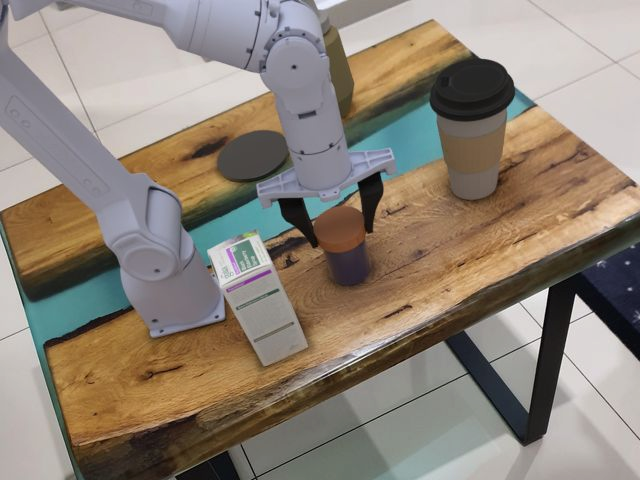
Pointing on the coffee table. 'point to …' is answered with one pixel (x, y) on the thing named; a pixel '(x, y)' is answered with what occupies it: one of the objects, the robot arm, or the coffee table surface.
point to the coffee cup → (472, 123)
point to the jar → (349, 265)
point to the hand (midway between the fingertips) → (341, 234)
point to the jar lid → (340, 229)
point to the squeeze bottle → (336, 61)
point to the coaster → (253, 156)
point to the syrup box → (257, 297)
